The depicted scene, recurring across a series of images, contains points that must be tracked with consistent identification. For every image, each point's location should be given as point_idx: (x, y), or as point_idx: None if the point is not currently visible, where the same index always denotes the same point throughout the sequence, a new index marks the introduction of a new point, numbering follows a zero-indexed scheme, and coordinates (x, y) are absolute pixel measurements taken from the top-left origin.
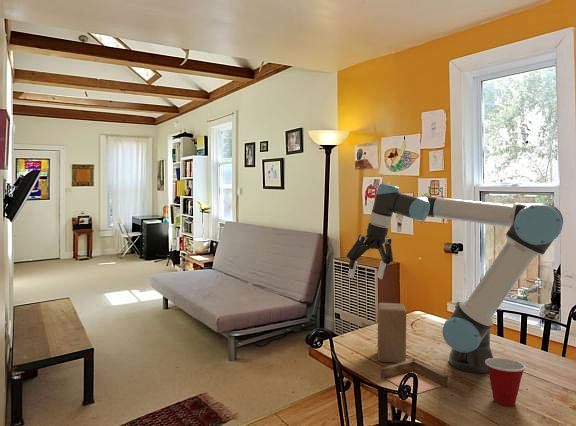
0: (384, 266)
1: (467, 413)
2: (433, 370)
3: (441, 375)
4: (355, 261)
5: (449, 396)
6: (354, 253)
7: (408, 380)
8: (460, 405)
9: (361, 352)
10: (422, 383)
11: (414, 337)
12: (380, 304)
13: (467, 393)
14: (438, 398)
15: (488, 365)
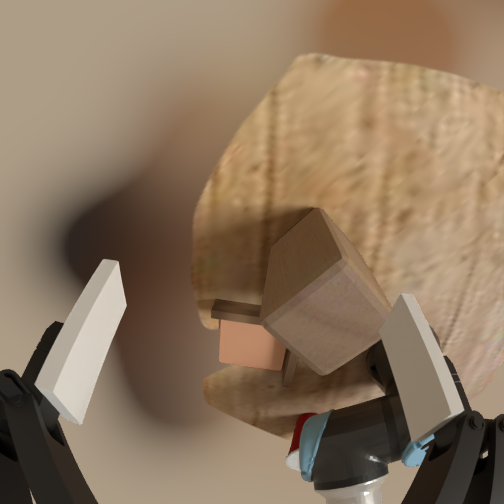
0: (408, 419)
1: (243, 410)
2: (290, 368)
3: (283, 381)
4: (64, 415)
5: (263, 387)
6: (13, 472)
7: (250, 335)
8: (254, 401)
9: (279, 179)
10: (262, 353)
11: (462, 201)
12: (318, 287)
13: (293, 394)
14: (244, 382)
15: (289, 454)
